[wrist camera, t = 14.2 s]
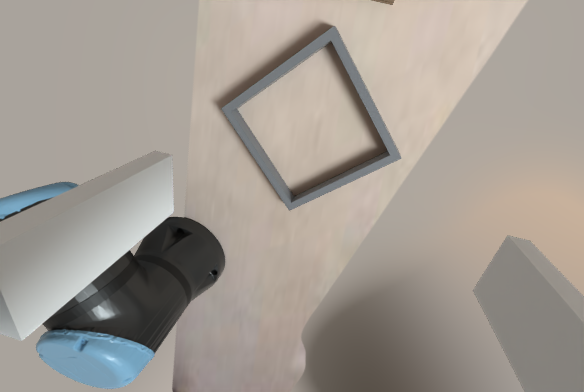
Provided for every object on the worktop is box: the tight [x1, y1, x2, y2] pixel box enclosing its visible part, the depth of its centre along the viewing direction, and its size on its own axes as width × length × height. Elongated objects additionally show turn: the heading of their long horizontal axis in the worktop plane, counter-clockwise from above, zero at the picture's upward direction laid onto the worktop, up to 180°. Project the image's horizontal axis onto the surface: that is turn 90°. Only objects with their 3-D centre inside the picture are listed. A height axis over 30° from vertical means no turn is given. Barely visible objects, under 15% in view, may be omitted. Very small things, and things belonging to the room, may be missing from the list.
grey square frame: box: [221, 26, 401, 211], centre depth 37 cm, size 17×17×2 cm
